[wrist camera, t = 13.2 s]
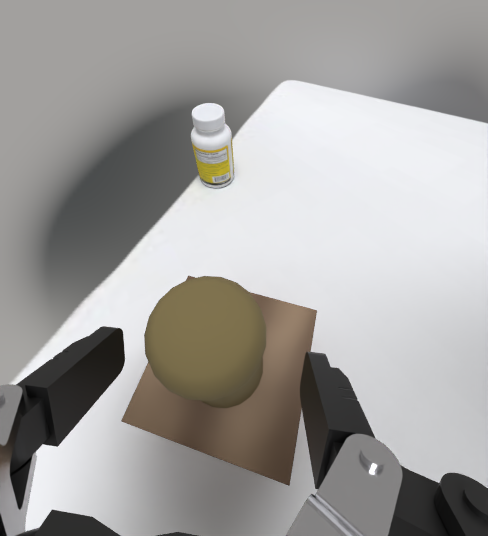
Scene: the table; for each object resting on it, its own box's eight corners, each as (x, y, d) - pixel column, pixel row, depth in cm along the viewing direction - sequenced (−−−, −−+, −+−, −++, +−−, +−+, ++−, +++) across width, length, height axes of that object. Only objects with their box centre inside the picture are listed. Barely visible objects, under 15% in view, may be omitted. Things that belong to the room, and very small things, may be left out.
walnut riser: (302, 329, 26) (316, 310, 21) (278, 464, 20) (289, 485, 15) (199, 299, 28) (188, 275, 22) (150, 416, 22) (121, 421, 17)
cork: (176, 342, 20) (108, 285, 10) (244, 314, 21) (243, 237, 11) (199, 424, 17) (136, 453, 7) (276, 386, 18) (312, 367, 8)
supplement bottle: (211, 162, 40) (201, 95, 31) (240, 171, 38) (238, 105, 30) (193, 182, 37) (177, 116, 29) (223, 193, 36) (216, 128, 27)
